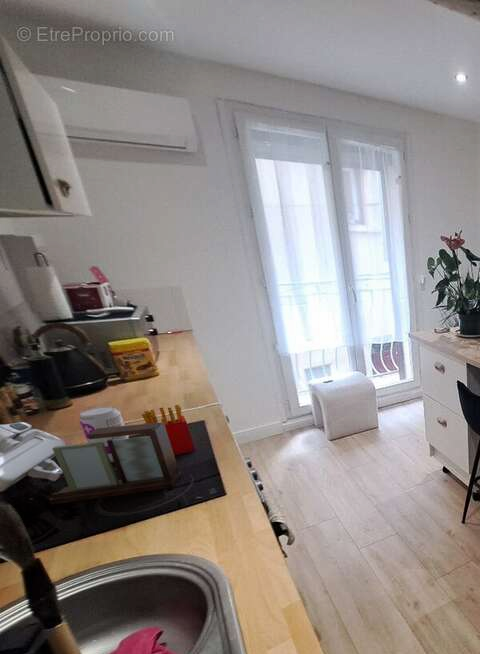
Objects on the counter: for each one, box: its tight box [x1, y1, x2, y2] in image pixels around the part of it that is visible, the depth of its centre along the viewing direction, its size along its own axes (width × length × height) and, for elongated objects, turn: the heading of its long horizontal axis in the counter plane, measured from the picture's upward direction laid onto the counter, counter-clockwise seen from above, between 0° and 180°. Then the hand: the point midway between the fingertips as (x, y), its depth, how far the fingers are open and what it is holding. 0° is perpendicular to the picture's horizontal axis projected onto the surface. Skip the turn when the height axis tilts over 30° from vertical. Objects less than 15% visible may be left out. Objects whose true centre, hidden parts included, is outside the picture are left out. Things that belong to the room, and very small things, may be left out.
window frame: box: [49, 422, 182, 506], centre depth 103 cm, size 24×6×17 cm, turn 111°
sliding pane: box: [52, 442, 119, 491], centre depth 101 cm, size 9×1×12 cm, turn 111°
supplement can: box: [78, 406, 130, 463], centre depth 119 cm, size 8×8×15 cm
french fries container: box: [141, 404, 196, 457], centre depth 123 cm, size 7×9×14 cm
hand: (61, 476), depth 100 cm, fingers closed, pressing on sliding pane
